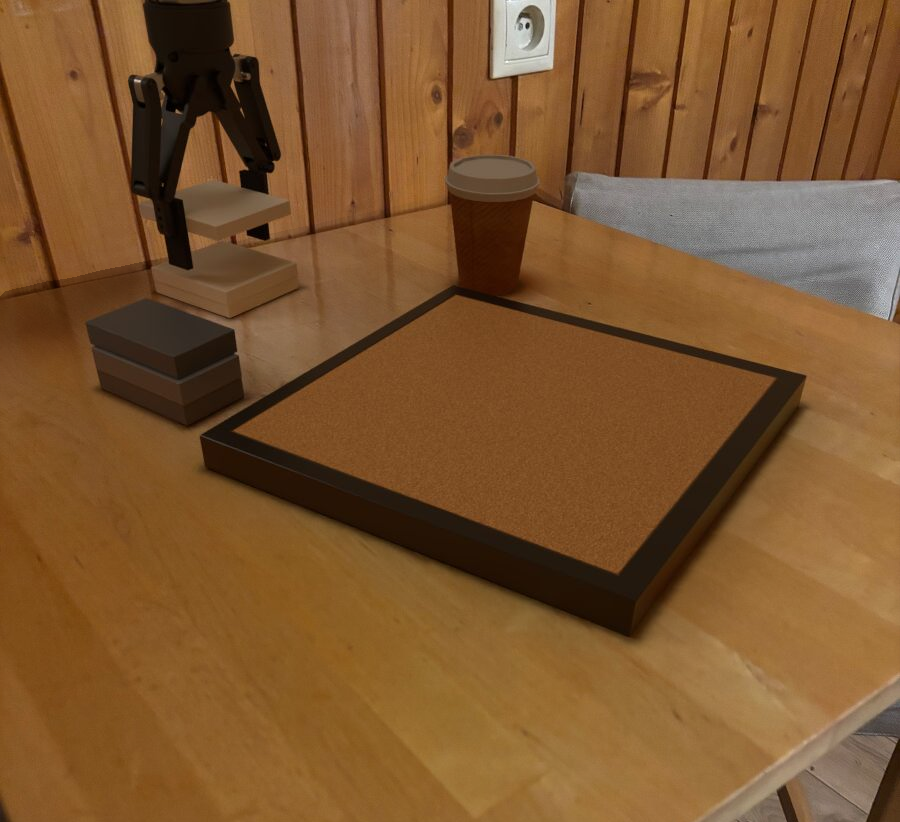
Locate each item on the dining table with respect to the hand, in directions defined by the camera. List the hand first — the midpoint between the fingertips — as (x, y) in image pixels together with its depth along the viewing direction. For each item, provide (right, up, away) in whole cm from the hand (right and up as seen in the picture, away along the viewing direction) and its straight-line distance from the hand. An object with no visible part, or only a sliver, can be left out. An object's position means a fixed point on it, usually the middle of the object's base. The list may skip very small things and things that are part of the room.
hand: (221, 251), depth 96 cm
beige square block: (0, -3, +3) cm, 4 cm away
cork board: (+29, -23, -20) cm, 42 cm away
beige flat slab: (0, +3, -2) cm, 4 cm away
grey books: (-1, -18, -15) cm, 23 cm away
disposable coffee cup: (+28, -2, +5) cm, 28 cm away
